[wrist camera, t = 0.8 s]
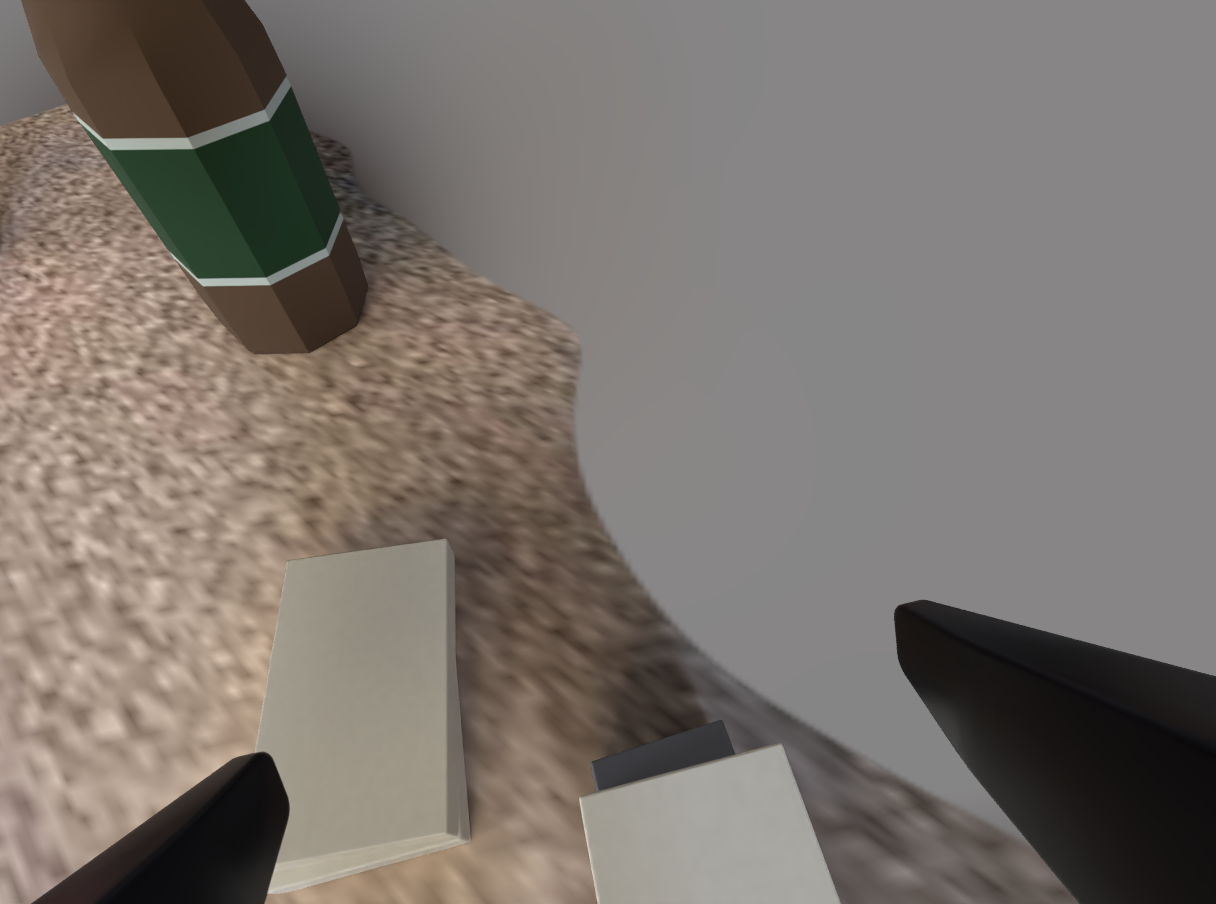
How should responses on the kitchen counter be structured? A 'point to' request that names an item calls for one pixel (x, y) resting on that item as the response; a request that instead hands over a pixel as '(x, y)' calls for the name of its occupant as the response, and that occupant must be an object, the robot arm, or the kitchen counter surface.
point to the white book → (707, 836)
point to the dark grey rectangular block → (663, 756)
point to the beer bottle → (211, 158)
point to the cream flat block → (366, 712)
